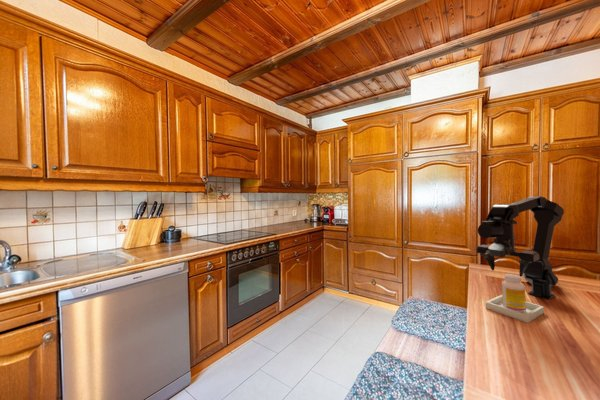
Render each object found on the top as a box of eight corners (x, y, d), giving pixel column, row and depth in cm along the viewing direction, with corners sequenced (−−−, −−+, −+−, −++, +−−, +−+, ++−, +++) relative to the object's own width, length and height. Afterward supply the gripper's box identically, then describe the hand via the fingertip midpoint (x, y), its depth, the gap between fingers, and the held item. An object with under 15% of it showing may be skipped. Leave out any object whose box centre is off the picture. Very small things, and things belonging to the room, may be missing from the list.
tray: (502, 300, 97) (502, 294, 97) (544, 313, 86) (543, 306, 86) (485, 308, 92) (485, 301, 92) (527, 323, 80) (527, 316, 80)
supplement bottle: (531, 313, 85) (529, 279, 84) (510, 313, 86) (508, 279, 86) (517, 305, 91) (516, 273, 91) (498, 304, 93) (497, 273, 92)
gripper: (468, 235, 99) (470, 271, 100) (525, 242, 83) (528, 285, 83) (482, 231, 104) (484, 266, 105) (538, 237, 88) (540, 278, 88)
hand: (506, 273), depth 95 cm, fingers open, 9 cm apart
